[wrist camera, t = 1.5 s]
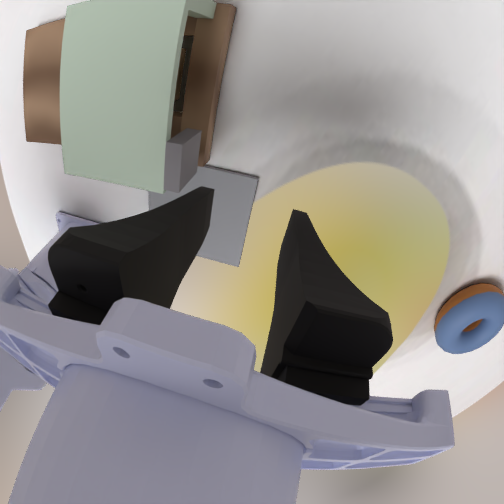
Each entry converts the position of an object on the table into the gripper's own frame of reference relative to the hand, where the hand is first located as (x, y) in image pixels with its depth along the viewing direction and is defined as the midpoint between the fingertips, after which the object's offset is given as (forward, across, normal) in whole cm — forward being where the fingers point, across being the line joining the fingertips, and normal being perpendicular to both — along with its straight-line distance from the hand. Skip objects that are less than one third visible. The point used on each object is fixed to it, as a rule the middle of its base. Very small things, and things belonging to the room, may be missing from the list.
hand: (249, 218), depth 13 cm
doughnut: (+10, -26, +10) cm, 30 cm away
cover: (+8, +9, -4) cm, 13 cm away
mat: (+9, +5, +7) cm, 13 cm away
